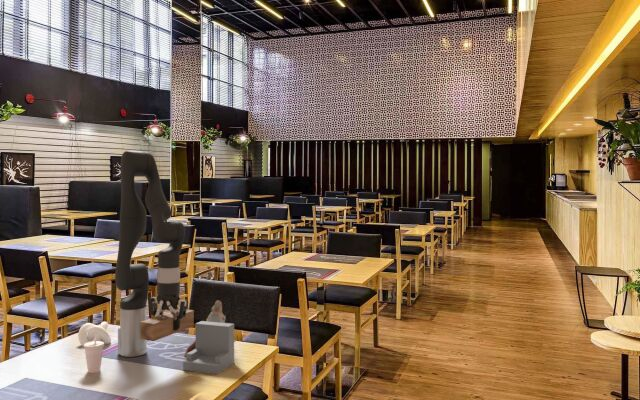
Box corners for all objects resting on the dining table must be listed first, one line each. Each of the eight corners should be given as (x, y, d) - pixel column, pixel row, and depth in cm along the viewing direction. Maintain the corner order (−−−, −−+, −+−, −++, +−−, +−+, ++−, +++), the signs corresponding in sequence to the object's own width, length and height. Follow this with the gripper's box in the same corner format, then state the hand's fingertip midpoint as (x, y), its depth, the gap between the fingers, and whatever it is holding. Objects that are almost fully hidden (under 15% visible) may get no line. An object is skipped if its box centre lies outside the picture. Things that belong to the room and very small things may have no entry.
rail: (140, 338, 164) (140, 321, 164) (181, 323, 182) (181, 308, 182) (153, 341, 162) (153, 324, 162) (193, 326, 180) (193, 310, 180)
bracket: (183, 370, 172) (182, 329, 172) (201, 359, 184) (201, 320, 184) (217, 374, 168) (217, 332, 168) (234, 362, 180) (234, 323, 180)
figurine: (215, 349, 198) (219, 305, 192) (196, 343, 200) (200, 299, 194) (226, 337, 206) (230, 294, 200) (207, 331, 208) (211, 289, 202)
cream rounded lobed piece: (119, 344, 202) (119, 321, 202) (95, 352, 192) (95, 329, 191) (99, 340, 207) (99, 318, 207) (74, 348, 196) (74, 325, 196)
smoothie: (108, 370, 172) (108, 329, 172) (94, 376, 166) (94, 334, 166) (93, 368, 174) (93, 327, 174) (79, 374, 168) (79, 332, 168)
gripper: (143, 280, 170) (143, 329, 170) (180, 283, 166) (179, 334, 166) (157, 276, 177) (156, 324, 178) (193, 279, 173) (192, 328, 173)
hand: (167, 328), depth 172 cm, fingers closed on rail, 6 cm apart
